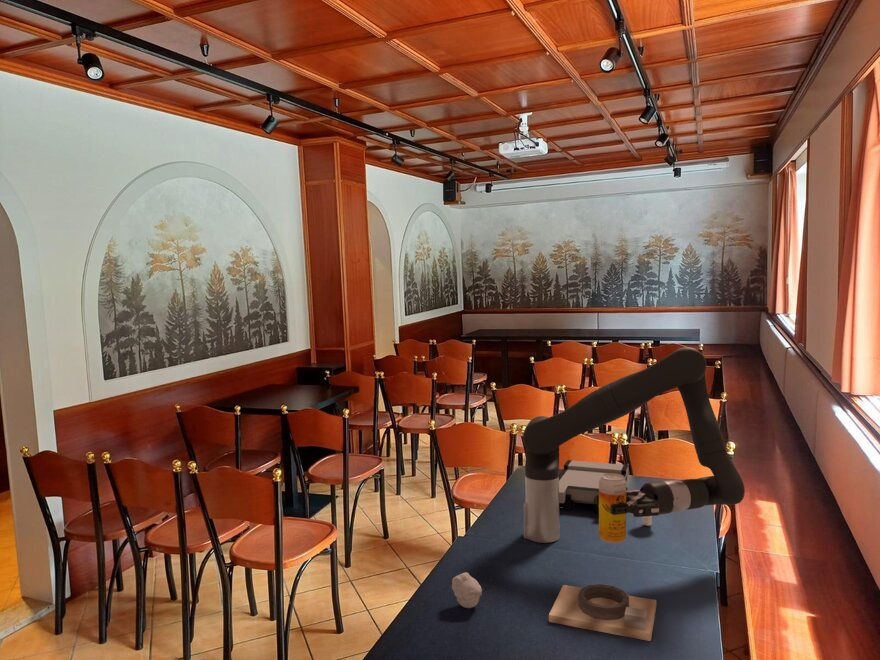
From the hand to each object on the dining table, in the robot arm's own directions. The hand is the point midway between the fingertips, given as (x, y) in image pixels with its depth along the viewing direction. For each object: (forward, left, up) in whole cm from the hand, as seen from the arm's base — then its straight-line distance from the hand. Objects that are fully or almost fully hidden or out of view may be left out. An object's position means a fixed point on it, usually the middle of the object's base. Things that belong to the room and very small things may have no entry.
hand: (603, 505), depth 144 cm
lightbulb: (+6, +40, -19) cm, 44 cm away
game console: (-13, +57, -19) cm, 61 cm away
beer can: (+2, +2, -9) cm, 9 cm away
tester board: (+2, -14, -18) cm, 24 cm away
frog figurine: (-26, -21, -19) cm, 39 cm away
